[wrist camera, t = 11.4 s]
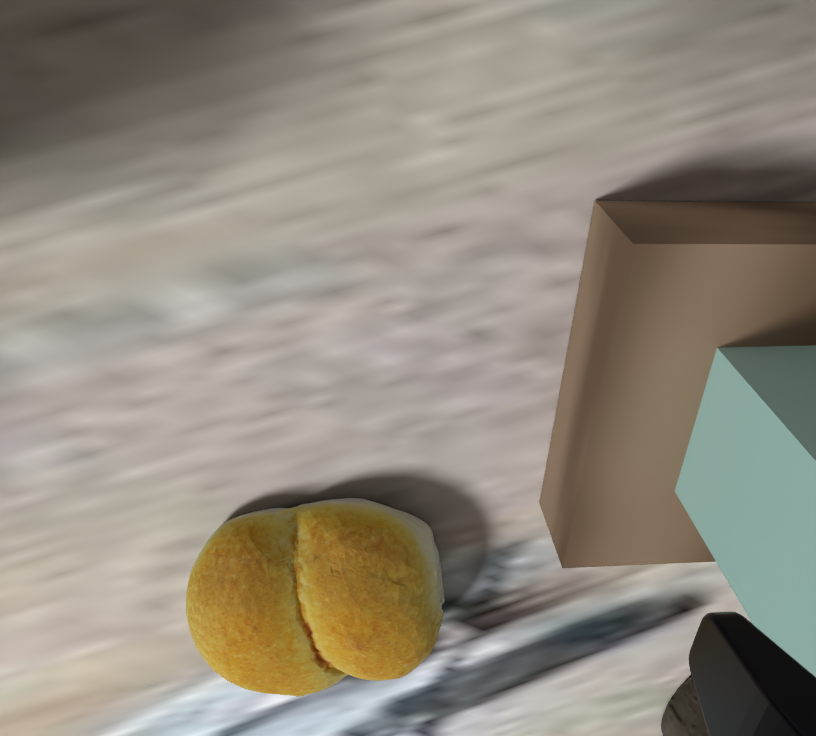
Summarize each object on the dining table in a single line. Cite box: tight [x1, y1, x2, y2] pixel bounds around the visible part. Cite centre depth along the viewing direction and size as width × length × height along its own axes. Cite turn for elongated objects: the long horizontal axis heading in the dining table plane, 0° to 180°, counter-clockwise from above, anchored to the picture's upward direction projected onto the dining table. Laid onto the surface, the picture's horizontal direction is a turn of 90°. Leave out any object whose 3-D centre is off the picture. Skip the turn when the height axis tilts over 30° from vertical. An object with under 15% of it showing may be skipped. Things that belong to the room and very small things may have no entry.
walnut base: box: [540, 201, 816, 568], centre depth 23 cm, size 11×11×3 cm
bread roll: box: [186, 498, 445, 696], centre depth 26 cm, size 8×9×4 cm
